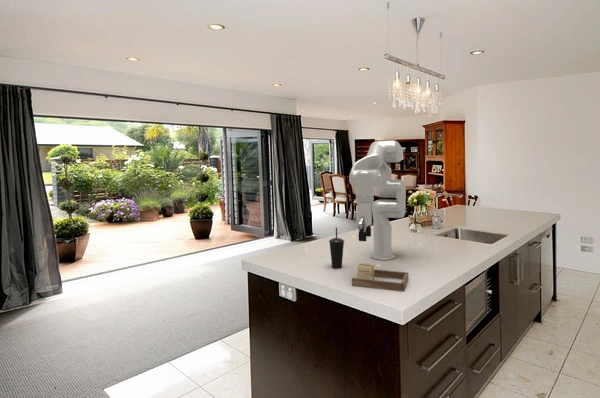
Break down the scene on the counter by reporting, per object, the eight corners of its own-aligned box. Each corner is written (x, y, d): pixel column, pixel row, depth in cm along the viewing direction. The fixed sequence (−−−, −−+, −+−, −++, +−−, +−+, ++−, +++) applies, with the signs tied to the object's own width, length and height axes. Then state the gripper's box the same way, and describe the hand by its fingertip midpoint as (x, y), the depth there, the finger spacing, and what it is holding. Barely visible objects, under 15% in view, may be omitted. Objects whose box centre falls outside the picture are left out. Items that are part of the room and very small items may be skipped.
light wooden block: (360, 278, 163) (360, 262, 162) (373, 279, 161) (373, 264, 160) (357, 282, 158) (357, 266, 157) (371, 283, 155) (371, 267, 155)
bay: (361, 274, 168) (360, 268, 168) (408, 279, 160) (408, 272, 160) (352, 285, 153) (352, 278, 153) (403, 291, 145) (403, 284, 145)
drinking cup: (343, 264, 185) (343, 226, 183) (345, 269, 177) (345, 228, 175) (328, 265, 184) (327, 226, 182) (330, 269, 177) (329, 229, 175)
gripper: (360, 197, 165) (361, 234, 167) (351, 201, 149) (351, 242, 151) (377, 197, 162) (377, 235, 164) (369, 202, 146) (369, 243, 148)
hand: (365, 238), depth 157 cm, fingers open, 9 cm apart
